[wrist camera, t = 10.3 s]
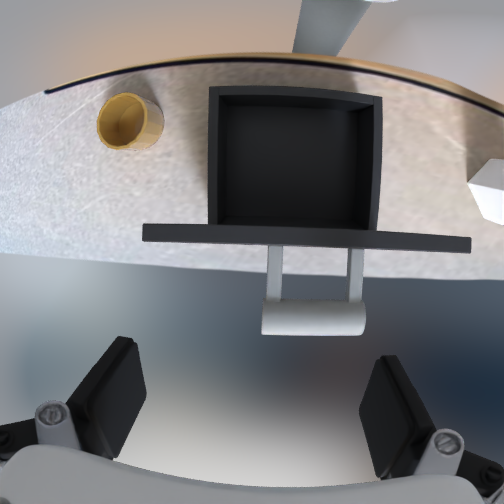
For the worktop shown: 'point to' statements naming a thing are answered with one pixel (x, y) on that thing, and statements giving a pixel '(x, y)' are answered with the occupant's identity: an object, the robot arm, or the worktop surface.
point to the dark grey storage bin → (294, 157)
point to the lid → (308, 310)
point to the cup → (129, 122)
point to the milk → (490, 190)
